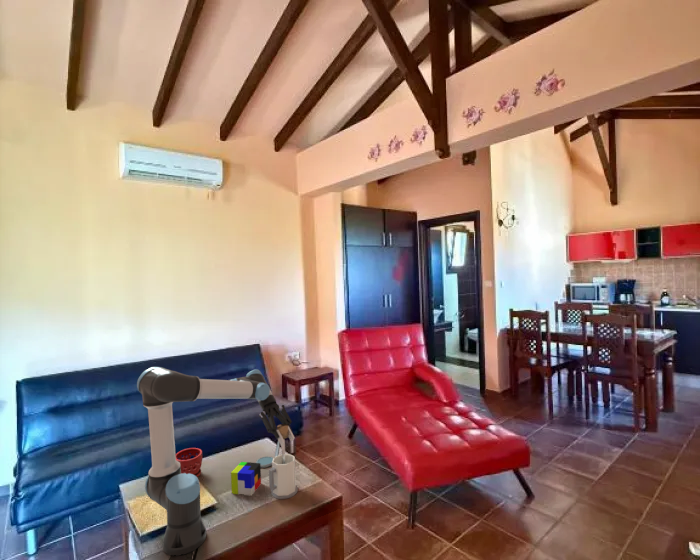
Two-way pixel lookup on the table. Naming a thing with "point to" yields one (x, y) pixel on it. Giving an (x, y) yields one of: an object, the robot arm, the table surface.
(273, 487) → the jug
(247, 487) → the puzzle toy
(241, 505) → the table surface
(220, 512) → the table surface
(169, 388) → the robot arm
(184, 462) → the plant pot
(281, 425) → the plunger
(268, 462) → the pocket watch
